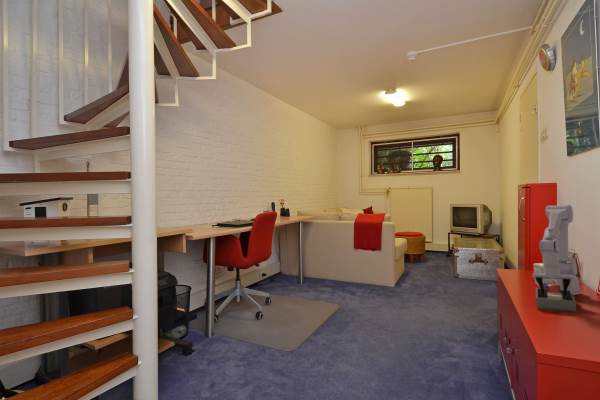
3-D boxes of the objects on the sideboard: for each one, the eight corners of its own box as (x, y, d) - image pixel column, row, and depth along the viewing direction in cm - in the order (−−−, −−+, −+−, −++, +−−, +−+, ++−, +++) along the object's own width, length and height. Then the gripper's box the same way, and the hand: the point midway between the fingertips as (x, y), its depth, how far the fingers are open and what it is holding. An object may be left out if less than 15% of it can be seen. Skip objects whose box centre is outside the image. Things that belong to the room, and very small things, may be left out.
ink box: (553, 288, 166) (551, 265, 167) (543, 288, 167) (541, 266, 168) (544, 283, 175) (542, 262, 175) (534, 284, 176) (532, 263, 176)
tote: (536, 298, 153) (535, 287, 153) (572, 301, 145) (571, 290, 145) (537, 309, 139) (536, 297, 139) (576, 313, 131) (575, 301, 132)
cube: (548, 303, 143) (547, 292, 143) (562, 304, 140) (561, 293, 140) (548, 306, 139) (547, 295, 139) (563, 308, 136) (562, 296, 136)
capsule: (552, 298, 149) (550, 283, 149) (564, 300, 144) (562, 285, 144) (544, 299, 147) (543, 284, 147) (556, 302, 143) (555, 287, 143)
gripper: (531, 266, 147) (534, 295, 147) (572, 267, 138) (575, 298, 138) (531, 263, 153) (534, 291, 152) (570, 264, 144) (573, 294, 144)
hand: (553, 294), depth 146 cm, fingers open, 7 cm apart
